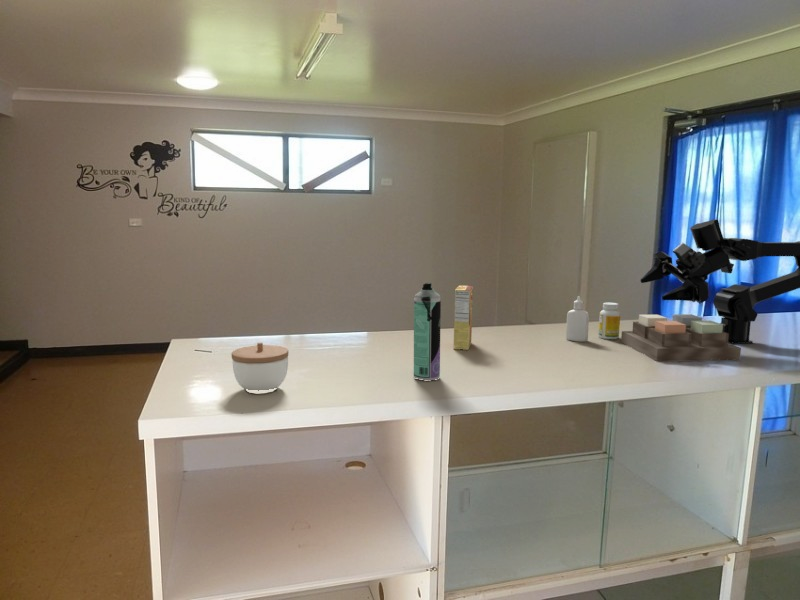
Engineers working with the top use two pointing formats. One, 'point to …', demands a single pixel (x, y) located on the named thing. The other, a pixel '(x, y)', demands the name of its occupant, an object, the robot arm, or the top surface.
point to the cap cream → (650, 319)
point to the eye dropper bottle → (577, 323)
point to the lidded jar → (260, 366)
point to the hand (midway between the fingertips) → (651, 289)
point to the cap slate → (686, 318)
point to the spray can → (427, 333)
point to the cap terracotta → (670, 327)
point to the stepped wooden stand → (680, 344)
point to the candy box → (463, 317)
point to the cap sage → (706, 326)
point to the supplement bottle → (609, 321)
